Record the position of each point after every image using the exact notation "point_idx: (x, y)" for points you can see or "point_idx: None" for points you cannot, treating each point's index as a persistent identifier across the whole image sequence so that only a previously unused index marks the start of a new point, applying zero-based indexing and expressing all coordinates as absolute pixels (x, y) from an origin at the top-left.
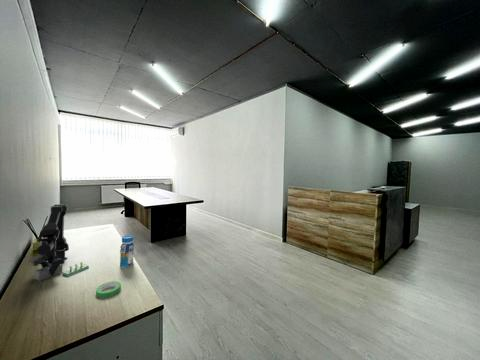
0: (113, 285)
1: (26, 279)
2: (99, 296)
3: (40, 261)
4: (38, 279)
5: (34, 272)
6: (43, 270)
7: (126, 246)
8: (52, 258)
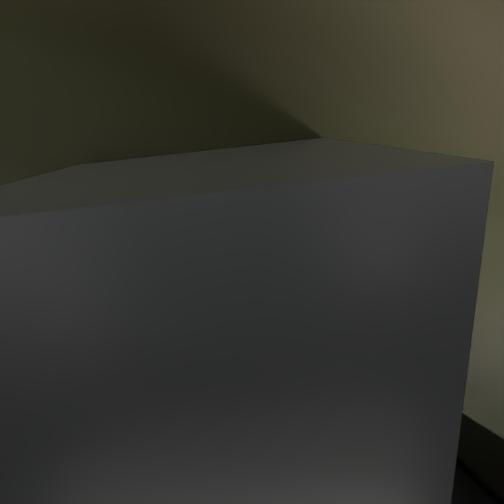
0: None
1: (493, 12)
2: None
3: None
4: (101, 164)
5: (406, 151)
6: (19, 459)
7: None
8: None
